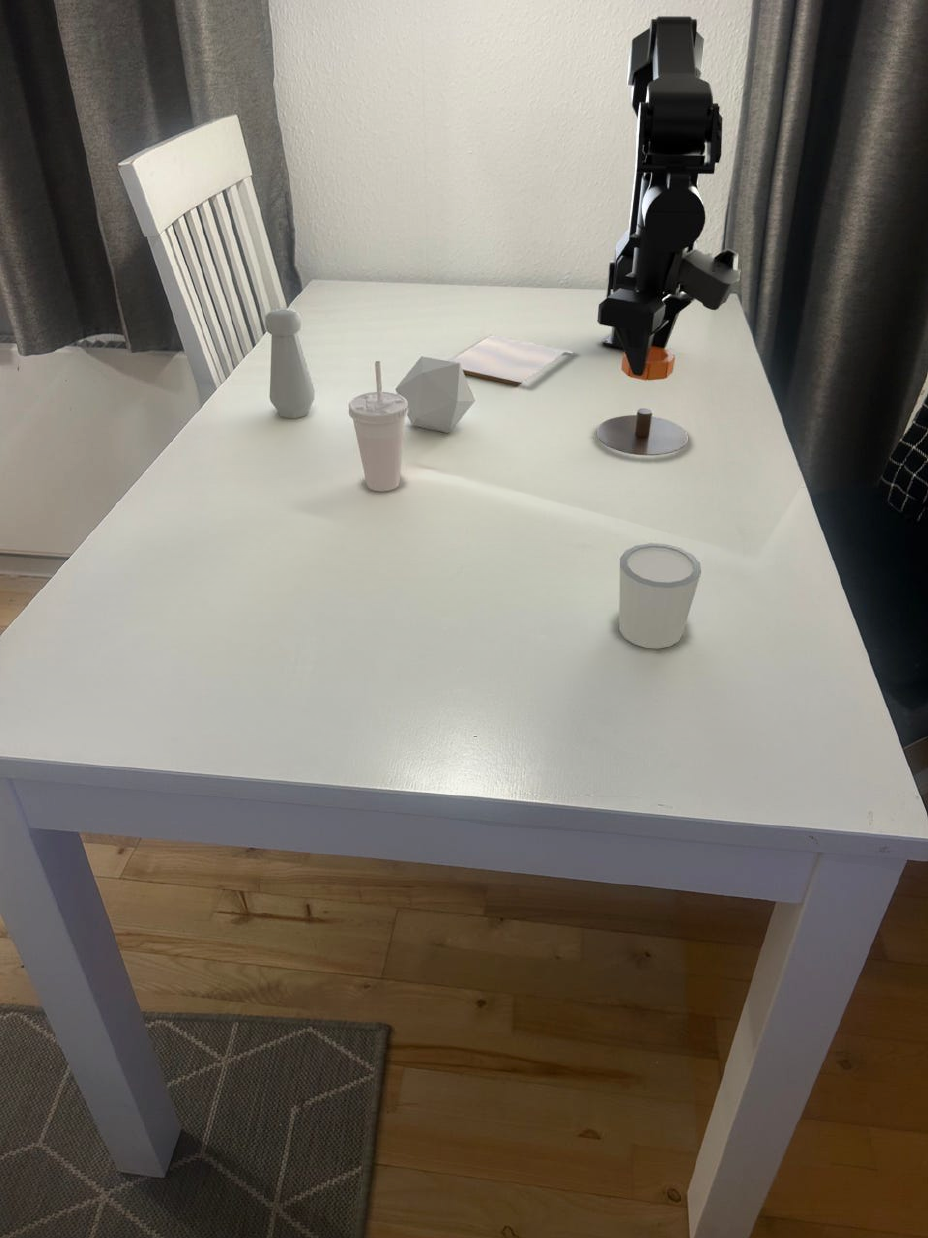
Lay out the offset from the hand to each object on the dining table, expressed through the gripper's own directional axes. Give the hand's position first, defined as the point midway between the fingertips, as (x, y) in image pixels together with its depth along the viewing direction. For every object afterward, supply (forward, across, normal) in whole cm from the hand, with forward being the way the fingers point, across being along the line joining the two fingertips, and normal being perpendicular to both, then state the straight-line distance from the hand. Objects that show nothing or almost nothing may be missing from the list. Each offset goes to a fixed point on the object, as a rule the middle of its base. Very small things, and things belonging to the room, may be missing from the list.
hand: (647, 366), depth 106 cm
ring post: (+9, 0, 0) cm, 9 cm away
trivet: (+9, +14, +26) cm, 30 cm away
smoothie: (+9, -25, +20) cm, 34 cm away
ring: (0, 0, 0) cm, 0 cm away
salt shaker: (+9, -15, +42) cm, 45 cm away
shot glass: (+9, -35, -16) cm, 40 cm away
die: (+9, -9, +24) cm, 27 cm away
